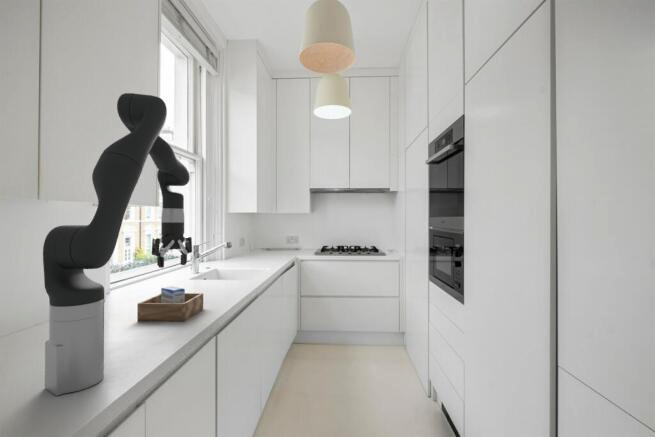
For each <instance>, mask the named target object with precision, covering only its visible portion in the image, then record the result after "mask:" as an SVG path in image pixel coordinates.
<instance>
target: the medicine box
mask: <svg viewBox="0 0 655 437" xmlns="http://www.w3.org/2000/svg"><path fill="white" fill-rule="evenodd" d="M160 289H161V290H160V291H161V292H160V294H161V303H185V292H186V291H185V288H182V287H177V286H165V287H161V288H160Z"/></svg>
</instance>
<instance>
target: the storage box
mask: <svg viewBox="0 0 655 437" xmlns="http://www.w3.org/2000/svg"><path fill="white" fill-rule="evenodd" d="M202 310H204V293H203V292H202V293H201V292H199V293H197V292H186V293H185V303H161V293H160V294H157V295H154V296H152V297H149V298H147V299H145V300H143V301H140V302H138V303H137V322H148V323H149V322H154V323H155V322H157V323H158V322H161V323H163V322H166V323H167V322H169V323H170V322H171V323H172V322H173V323H184V322H186V321H188V320H189V319H190V318H192V317H193V316H195V315H197V314H198V313H199V312H202Z"/></svg>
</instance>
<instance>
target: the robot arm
mask: <svg viewBox="0 0 655 437" xmlns="http://www.w3.org/2000/svg"><path fill="white" fill-rule="evenodd" d="M116 109H117V114H118V117H119V119H120V121H121V122H122V124H123V125H124V127H125V128H126V129H127V130H128V131H129V133H127V134H126V135H124V136H123V137H121V138H119V139H118V140H116V141H114V142H113V143H111V144H110V145H109V146H107V147H106V148H104V150H103V151H102V153H101V155H100V156H99V158H98V160H97V161H96V164H95V166H94V169H93V171H92V175H91V180H92V185H93V187H94V191H95V193H96V197H97V202H98V203H97V208H96V210H95V213H94V216H93V218H92V220H91V221H90V223H89V224H88V225H87V224H86V225H85V224H84V225H83V224H82V225H80V224H77V225H76V224H75V225H72V224H68V225H67V224H66V225H57V226H55V227H53V228H52V229H50V231H48V233H47V235H46V236H45V240H44V243H43V247H42V265H43V279H44V281H43V283H44V288H45V292H46V294H47V296H48V298H49V307H48V308H49V310H48V311H49V313H48V314H49V318H48V319H49V322H48V323H49V326H48V328H49V330H48V332H49V334H48V338H49V339H48V340H46V341H45V342H44V388H45V389H46V390H47V391H49V392H50V393H52V394H53V395H55V396H56V397H57V396H60V395H63V394H67V393H73V392H79V391H82V390H85V389H89V388H90V387H92V386H95V385H97V384H98V383H100V382H101V381H102V380H103V379H104V378H105V288H104V286H103V284H101V283H99V282H96V281H94V280H93V279H91V278H89V277H88V276H87V275H86V274H85V272H84V271H85V270H97V269H100V268H102V267H105V265H106V264H108V262H109V261H110V260H111V258H112V256H113V254H114V252H115V249H116V245H117V243H118V242H117V241H118V239H119V236H120V232H121V231H120V230H121V227H122V224H123V222H124V217H125V214H126V211H127V209H128V206H129V203H130V201H131V198H132V195H133V193H134V191H135V188H136V186H137V185H138V181H139V179H140V177H141V175H142V173H143V169H144V166H145V163H146V161H147V158H148V156H150V158H151V160H152V161H153V163H154V165H155V166H156V168H157V173H156V177H157V182H158V185H159V187H160V192H161V196H162V197H161V198H162V199H161V200H162V206H161V207H162V209H161V210H162V211H161V218H160V220H161V225H160V226H161V230H160V231H161V238H160V237H159V238H158V237H153V238H152V242H151V255H152V256H155V257H156V258H157V259H156V260H157V261H156V264H157V266H158V268H159V269H160V268H161V269H163V268H165V257H164V256H165V254H166V253H167V252H169V251H171V250H172V251H173V250H178V251H179V252H180V266H185V265H186V264H187V262H188V255H189V254H191V253H193V242H192V237H191V236H184V235H185V209H184V208H185V205H184V204H185V202H184V200H185V197H184V194H183V193H181V192H177V191H172V190H171V187H185V186H186V185H187V184H189V182H190V178H191V177H190V172H189V170H188V168H187V167H186V166H185V165H184V164H183V163H182V162H181V161H180V159H178V158H177V156H176V154H175V152H174V149H173V148H172V147H171V145H170V143H169V142H167V141H166V140H165V139H164V138H162V137H161V136H160V133H161V131H162V130H163V128H164V126H165V124H166V120H167V114H168V112H167V111H168V110H167V109H168V108H167V105H166V102H165V101H164V100H163V99H162V98H161V97H159V96H155V95H150V94H143V93H142V94H141V93H132V92H131V93H129V92H124V93H122V94H121V95H119V97H118V99H117V102H116ZM161 244H162V245H161ZM160 245H161V247H160Z"/></svg>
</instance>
